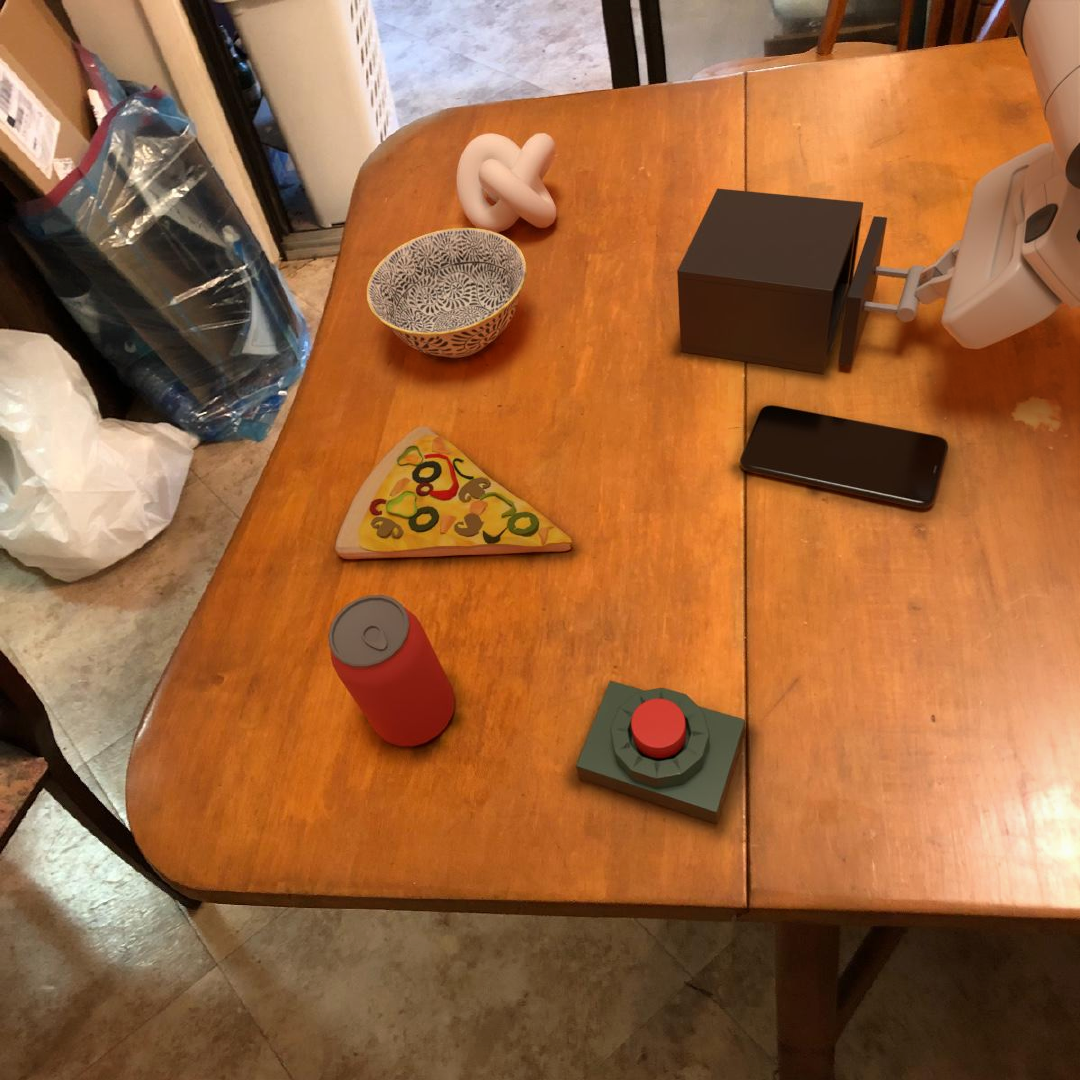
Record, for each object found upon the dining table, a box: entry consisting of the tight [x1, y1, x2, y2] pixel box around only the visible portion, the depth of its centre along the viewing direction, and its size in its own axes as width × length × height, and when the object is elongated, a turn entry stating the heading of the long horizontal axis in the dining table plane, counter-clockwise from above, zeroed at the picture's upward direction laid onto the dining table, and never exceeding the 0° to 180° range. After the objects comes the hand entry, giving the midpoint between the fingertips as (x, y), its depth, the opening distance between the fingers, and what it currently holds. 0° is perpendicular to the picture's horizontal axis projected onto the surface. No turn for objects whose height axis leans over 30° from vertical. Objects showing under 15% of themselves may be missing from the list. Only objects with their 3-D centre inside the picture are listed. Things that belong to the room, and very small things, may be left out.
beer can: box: [327, 594, 456, 747], centre depth 67 cm, size 7×7×12 cm
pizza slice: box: [334, 425, 573, 560], centre depth 81 cm, size 16×21×3 cm
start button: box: [631, 699, 686, 758], centre depth 63 cm, size 4×4×2 cm
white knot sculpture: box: [456, 132, 557, 233], centre depth 105 cm, size 11×12×9 cm
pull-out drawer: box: [828, 215, 926, 367], centre depth 86 cm, size 17×11×8 cm
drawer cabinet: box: [676, 188, 864, 375], centre depth 88 cm, size 14×13×10 cm
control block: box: [575, 680, 746, 825], centre depth 65 cm, size 10×7×4 cm
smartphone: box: [739, 404, 949, 509], centre depth 80 cm, size 8×1×16 cm
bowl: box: [366, 227, 527, 359], centre depth 94 cm, size 16×16×8 cm
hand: (921, 289), depth 83 cm, fingers closed, pressing on pull-out drawer
